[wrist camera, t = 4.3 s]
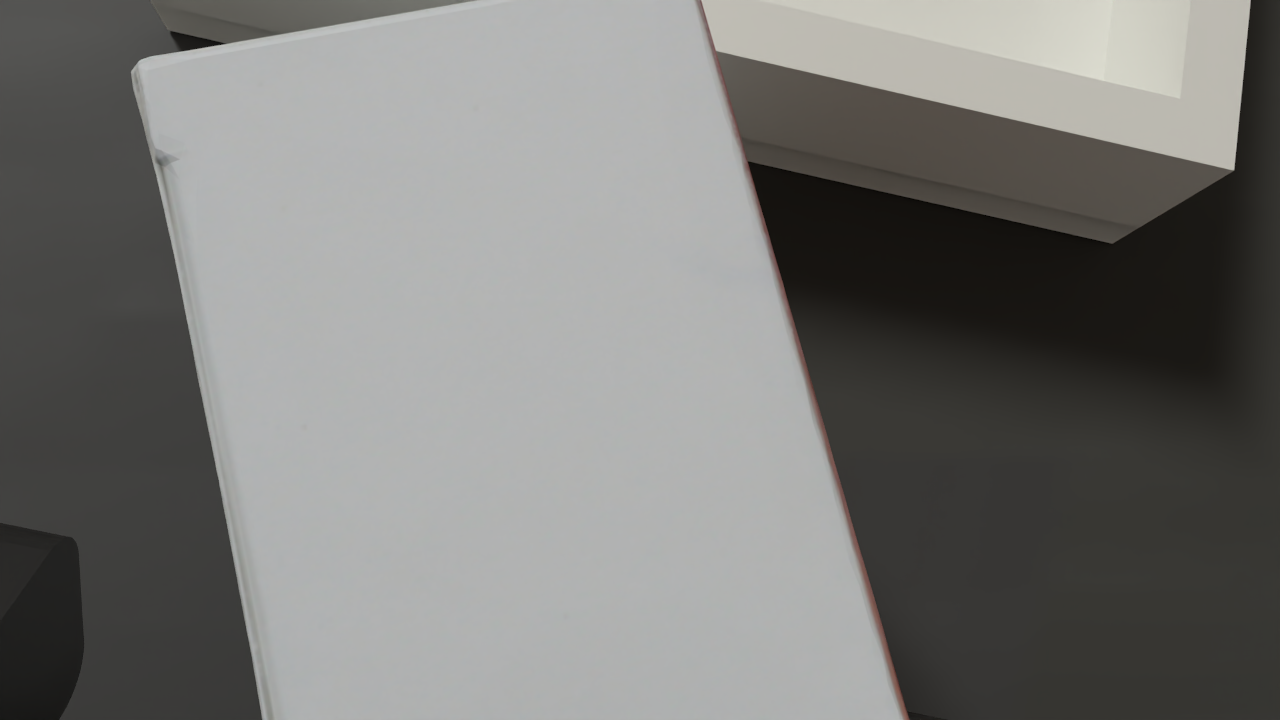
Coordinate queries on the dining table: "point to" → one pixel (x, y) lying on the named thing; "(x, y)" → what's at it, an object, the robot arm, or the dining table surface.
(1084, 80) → the tray
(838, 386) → the dining table surface
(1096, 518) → the dining table surface
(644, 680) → the small box
